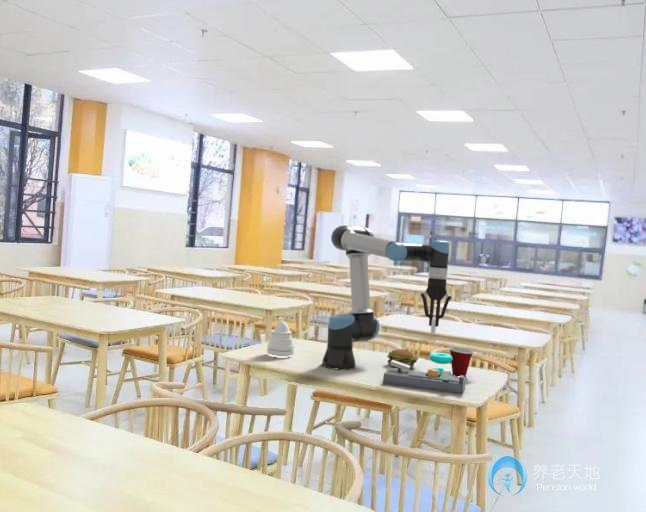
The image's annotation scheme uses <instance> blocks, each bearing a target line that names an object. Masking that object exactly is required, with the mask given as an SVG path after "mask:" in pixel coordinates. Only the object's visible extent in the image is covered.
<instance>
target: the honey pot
mask: <svg viewBox="0 0 646 512" xmlns="http://www.w3.org/2000/svg"><path fill="white" fill-rule="evenodd" d="M284 318H285V317H278V321H279V322H278V323H277V324H276V326H275V327H274V329H271V331H270V333H271V336H270V337H269V340H268V344H267V350H266V354H267V353H269V354H272V355H277V356H289V355H293V354H294V355H295V343H294V340H293V337H292V333H293V331H292V330H290V328H289V325H288V324H287V323H286V321H284V320H285V319H284Z"/></svg>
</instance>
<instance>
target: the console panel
mask: <svg viewBox="0 0 646 512" xmlns="http://www.w3.org/2000/svg"><path fill="white" fill-rule="evenodd" d="M427 373H428V371H427V372H426V371H418V370H413V369H412V370H410V369H409V371H407V370H404V369H401V368H394V367H389V368H388V369H387V370H386V371H385V372H384V373H383V378H382V384H384V385H385V384H386V385H391V384H392V385H393V386H399V387H405V388H412V389H413V388H415V389H422V390H427V391H428V390H430V391H436V392H441V393H450V394H457V395H463V394H464V391H465V388H466V382H467V377H466V376H465V377H464V376H463V375H460V377H458V376H454V375H452V374H451V375H450V378H449V380H442V378H443V374H439V377H432V376H427Z"/></svg>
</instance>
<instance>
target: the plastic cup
mask: <svg viewBox="0 0 646 512" xmlns="http://www.w3.org/2000/svg"><path fill="white" fill-rule="evenodd" d="M449 353H450V355H451V356H452V358H453V360H452V361H451V362H450V363H451V370H452V371H451V374H452V376H454V375H455V376H460V375H463V376H465V377H466V376H467V373H468V369H469V366H470V361H471V358H472V356H473V354H474V351H473V350H471V349H469V348H463V347H457V346H451V347H449Z"/></svg>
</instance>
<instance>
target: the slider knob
mask: <svg viewBox="0 0 646 512" xmlns="http://www.w3.org/2000/svg"><path fill="white" fill-rule="evenodd" d="M450 372H451V369H450V368H445V369H444V370H443V378H442V380H449V378H450Z"/></svg>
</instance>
